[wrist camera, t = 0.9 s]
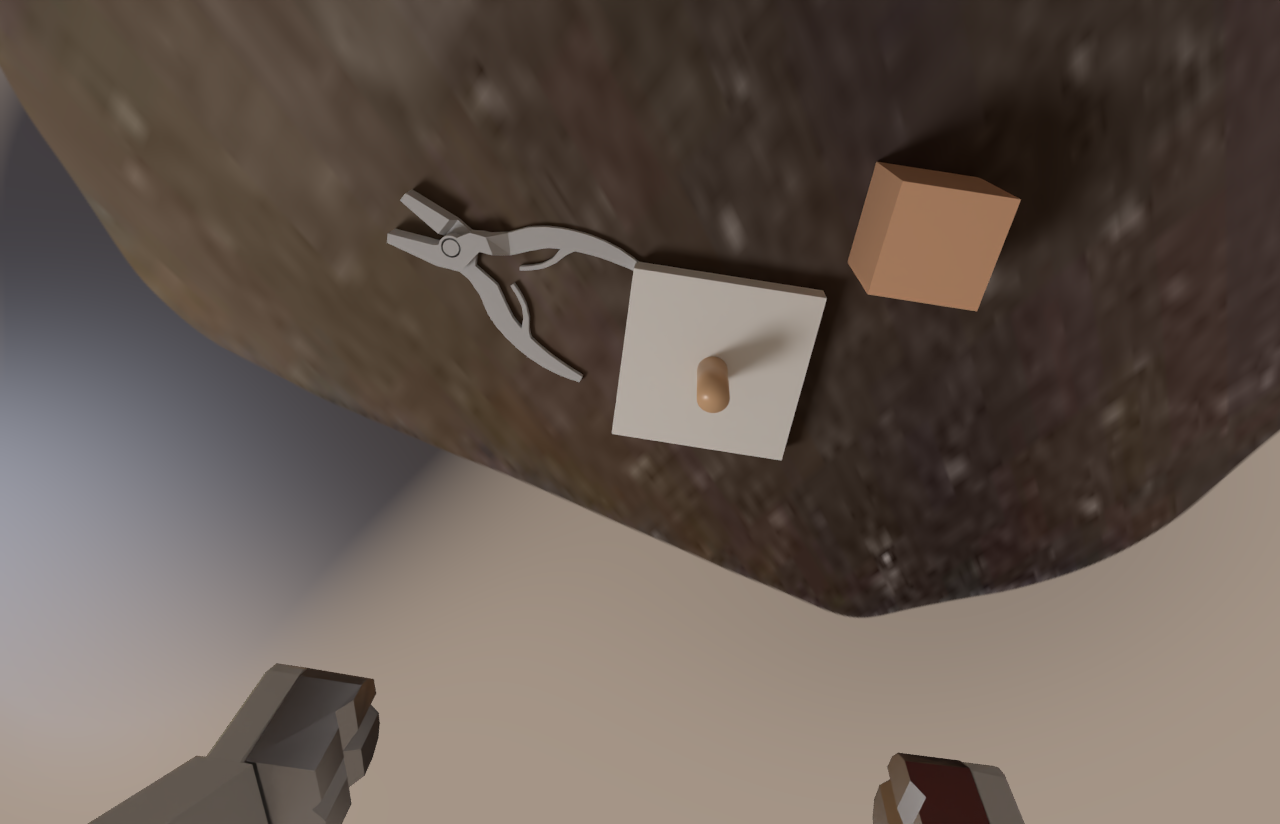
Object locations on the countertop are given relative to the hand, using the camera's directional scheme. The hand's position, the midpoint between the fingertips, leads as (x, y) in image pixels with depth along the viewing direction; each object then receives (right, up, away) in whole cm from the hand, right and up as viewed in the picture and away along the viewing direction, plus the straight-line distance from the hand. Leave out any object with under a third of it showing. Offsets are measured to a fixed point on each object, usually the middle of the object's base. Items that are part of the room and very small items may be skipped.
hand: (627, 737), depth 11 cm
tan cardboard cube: (+16, +16, +31) cm, 38 cm away
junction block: (+5, +9, +36) cm, 37 cm away
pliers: (-8, +15, +35) cm, 38 cm away
